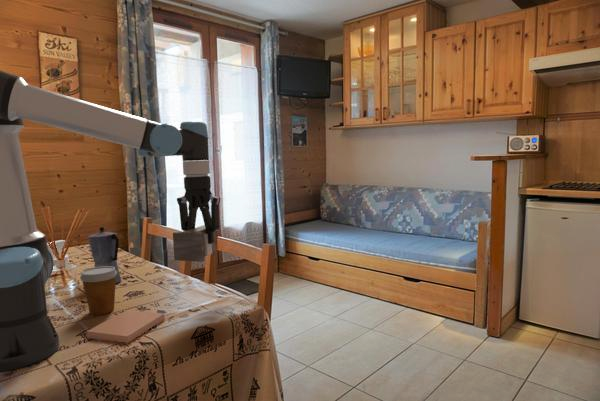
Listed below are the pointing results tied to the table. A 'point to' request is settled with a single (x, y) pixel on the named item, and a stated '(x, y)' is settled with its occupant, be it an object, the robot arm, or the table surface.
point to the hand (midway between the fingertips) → (201, 253)
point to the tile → (125, 326)
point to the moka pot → (105, 250)
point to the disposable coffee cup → (99, 288)
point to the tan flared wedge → (192, 244)
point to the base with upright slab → (59, 247)
